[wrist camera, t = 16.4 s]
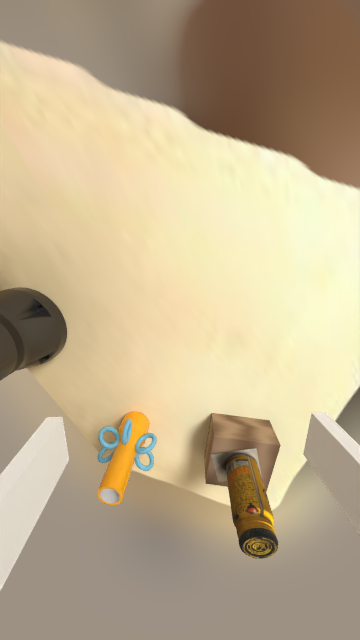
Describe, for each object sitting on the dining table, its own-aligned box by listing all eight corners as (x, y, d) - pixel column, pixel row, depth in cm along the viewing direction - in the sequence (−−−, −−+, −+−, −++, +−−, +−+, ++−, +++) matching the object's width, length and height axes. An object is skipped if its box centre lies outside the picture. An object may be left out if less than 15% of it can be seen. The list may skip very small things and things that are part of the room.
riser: (204, 456, 48) (205, 483, 42) (211, 413, 44) (214, 436, 39) (257, 463, 47) (266, 492, 42) (269, 420, 44) (280, 445, 38)
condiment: (261, 476, 41) (287, 562, 29) (218, 480, 42) (226, 566, 30) (256, 447, 39) (281, 527, 27) (210, 452, 40) (216, 532, 28)
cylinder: (172, 421, 46) (161, 497, 31) (146, 450, 49) (125, 530, 34) (125, 391, 44) (92, 455, 30) (101, 422, 47) (60, 494, 33)
